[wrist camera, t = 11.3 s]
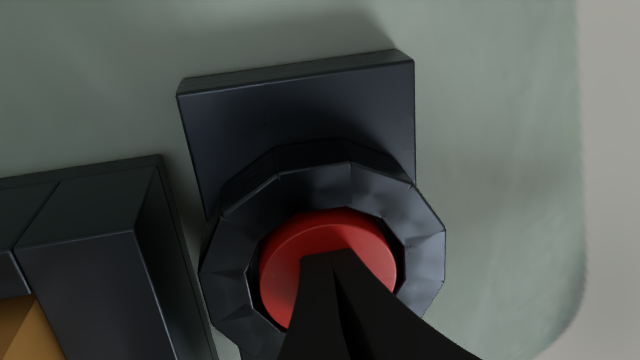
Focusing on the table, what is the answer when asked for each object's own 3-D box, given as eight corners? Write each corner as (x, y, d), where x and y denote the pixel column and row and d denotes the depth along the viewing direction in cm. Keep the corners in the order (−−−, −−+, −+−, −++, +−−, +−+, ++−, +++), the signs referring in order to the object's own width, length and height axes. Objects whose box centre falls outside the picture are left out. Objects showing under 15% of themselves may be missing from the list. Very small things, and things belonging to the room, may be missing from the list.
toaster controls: (413, 318, 18) (443, 383, 15) (238, 351, 17) (239, 426, 15) (407, 46, 13) (450, 73, 11) (171, 80, 13) (153, 117, 10)
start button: (382, 283, 15) (398, 323, 13) (267, 304, 15) (270, 347, 13) (376, 181, 13) (394, 213, 12) (247, 202, 13) (248, 238, 11)
